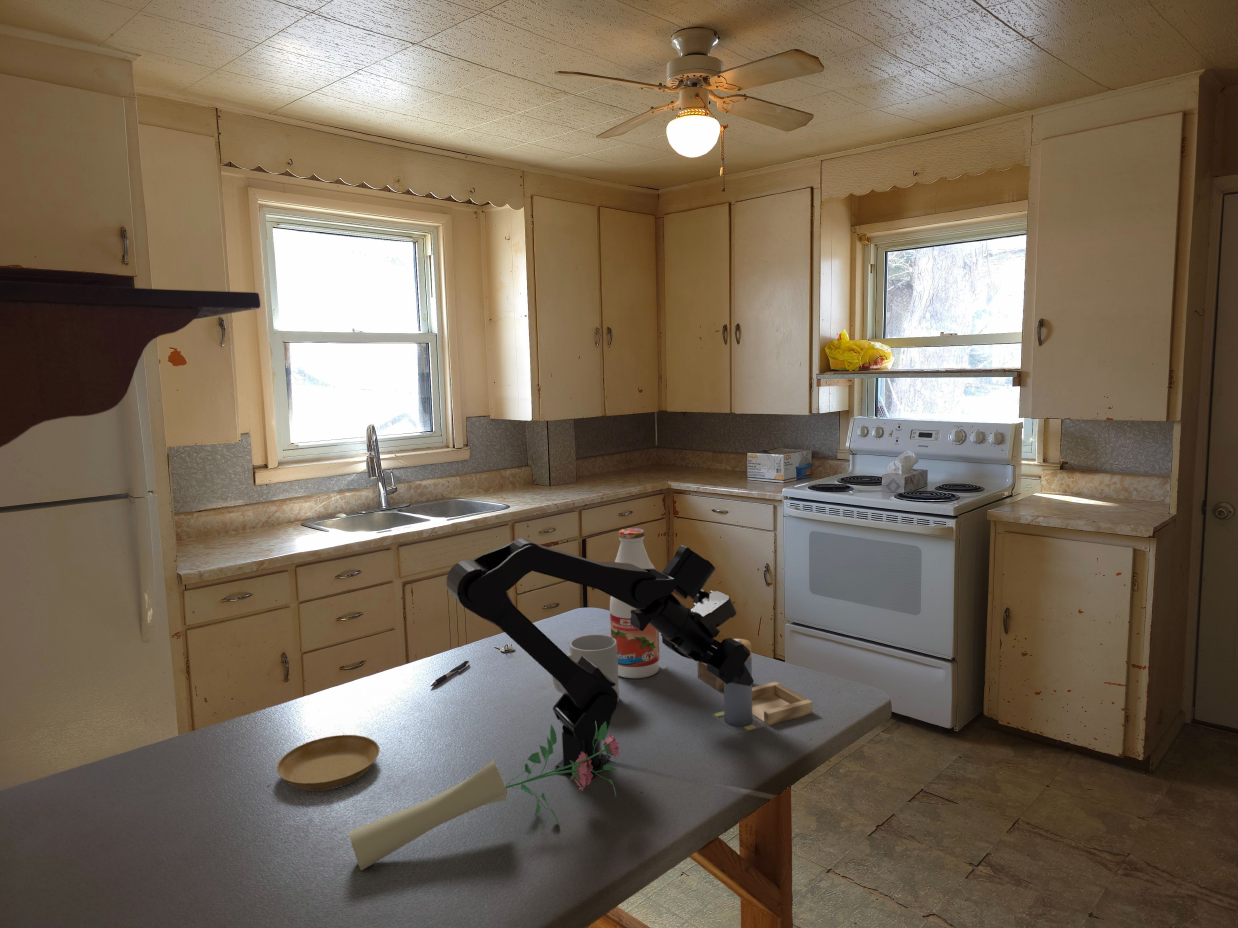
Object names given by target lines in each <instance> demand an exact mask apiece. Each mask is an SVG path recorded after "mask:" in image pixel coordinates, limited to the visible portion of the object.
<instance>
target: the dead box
mask: <svg viewBox="0 0 1238 928" xmlns="http://www.w3.org/2000/svg"><path fill="white" fill-rule="evenodd" d="M697 679H699V680H701V681H702V682H703V683H705V684H707V685H708V686H710V687H712V688H713V689H714V690H716V691H718V692H719V691H724V682H722V681H721V680H719V679H717V678H716V677H715V676H713V675H712V674H711V673H710V672H708V671H707V664H705V663H702V662H699V661H697Z"/></svg>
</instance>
